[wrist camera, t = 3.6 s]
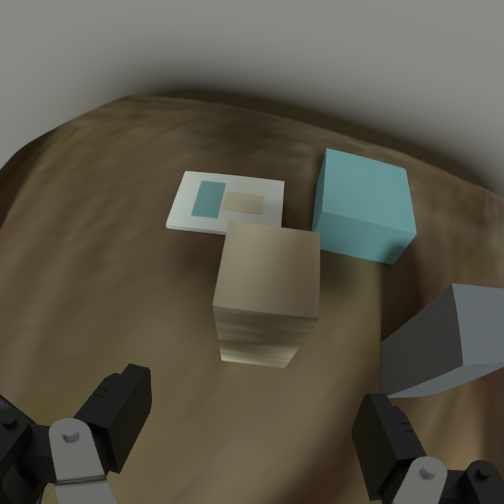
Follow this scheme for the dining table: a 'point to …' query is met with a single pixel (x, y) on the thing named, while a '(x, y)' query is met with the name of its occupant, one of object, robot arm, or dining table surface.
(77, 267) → the dining table surface
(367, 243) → the teal base block
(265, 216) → the card
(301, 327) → the maple block
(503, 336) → the charcoal block
